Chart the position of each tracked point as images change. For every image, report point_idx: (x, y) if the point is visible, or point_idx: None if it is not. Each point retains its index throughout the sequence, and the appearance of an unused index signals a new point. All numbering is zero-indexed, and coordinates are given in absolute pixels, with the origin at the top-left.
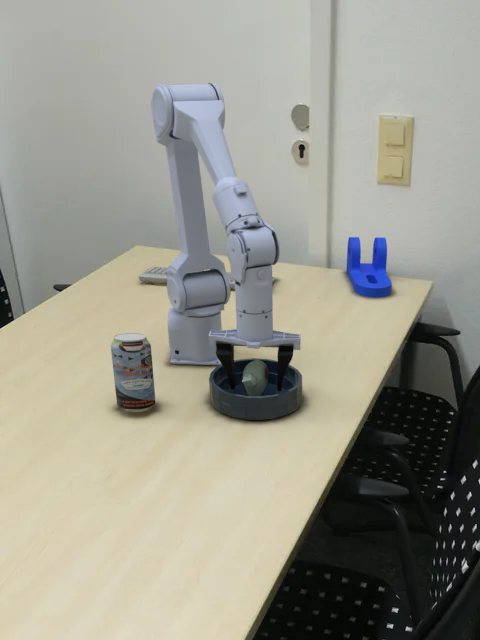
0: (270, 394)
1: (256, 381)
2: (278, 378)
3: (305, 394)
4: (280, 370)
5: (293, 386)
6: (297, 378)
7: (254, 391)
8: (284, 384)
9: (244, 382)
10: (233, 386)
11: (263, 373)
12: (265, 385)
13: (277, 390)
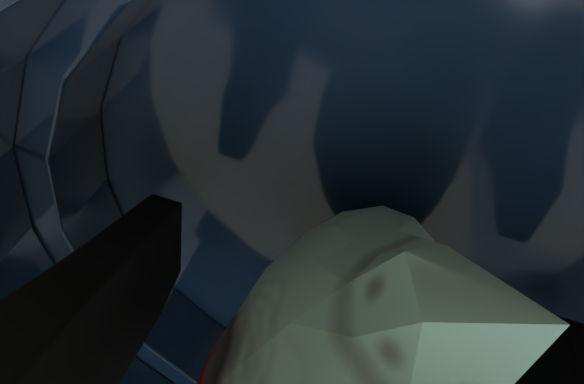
0: (261, 244)
1: (347, 298)
2: (98, 280)
3: None
4: (4, 351)
5: (77, 241)
6: (13, 285)
7: (386, 229)
8: (166, 304)
9: (527, 307)
10: (575, 341)
11: (237, 379)
12: (266, 269)
13: (177, 204)
